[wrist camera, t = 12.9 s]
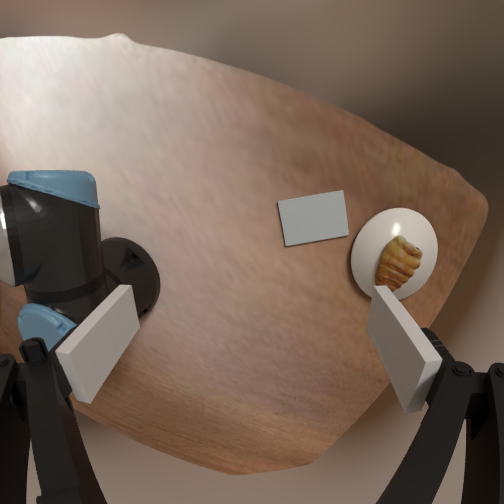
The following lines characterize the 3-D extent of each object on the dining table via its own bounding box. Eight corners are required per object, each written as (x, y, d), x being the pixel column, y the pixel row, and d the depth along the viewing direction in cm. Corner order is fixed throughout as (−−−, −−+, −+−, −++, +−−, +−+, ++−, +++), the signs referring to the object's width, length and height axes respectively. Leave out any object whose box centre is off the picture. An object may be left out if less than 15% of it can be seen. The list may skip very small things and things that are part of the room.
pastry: (393, 295, 47) (401, 305, 43) (363, 280, 47) (369, 290, 43) (421, 247, 44) (431, 255, 40) (391, 229, 44) (400, 236, 40)
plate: (345, 300, 49) (347, 303, 48) (352, 205, 44) (354, 206, 43) (426, 295, 48) (429, 298, 47) (439, 208, 43) (442, 210, 42)
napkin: (285, 245, 47) (285, 246, 46) (277, 201, 45) (277, 201, 44) (348, 234, 46) (348, 235, 45) (342, 190, 43) (343, 190, 43)
